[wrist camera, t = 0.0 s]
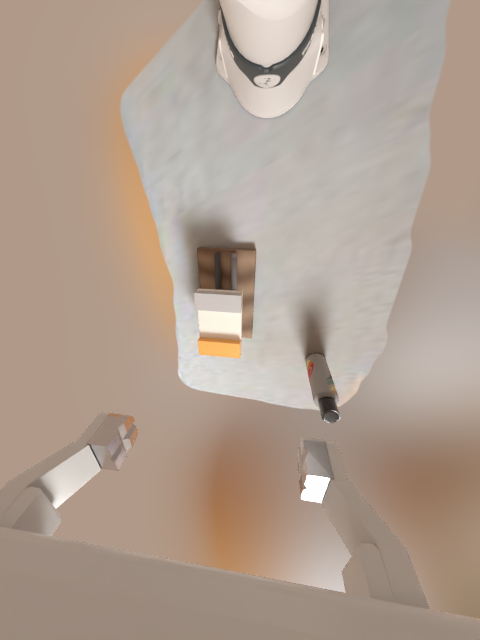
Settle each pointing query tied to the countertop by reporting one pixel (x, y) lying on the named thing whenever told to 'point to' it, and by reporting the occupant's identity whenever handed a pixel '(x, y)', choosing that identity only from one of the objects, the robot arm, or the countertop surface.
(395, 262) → the countertop surface
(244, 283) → the mounting board
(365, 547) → the robot arm
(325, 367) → the lotion bottle
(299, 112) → the countertop surface
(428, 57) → the countertop surface
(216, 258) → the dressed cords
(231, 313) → the block
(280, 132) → the countertop surface
